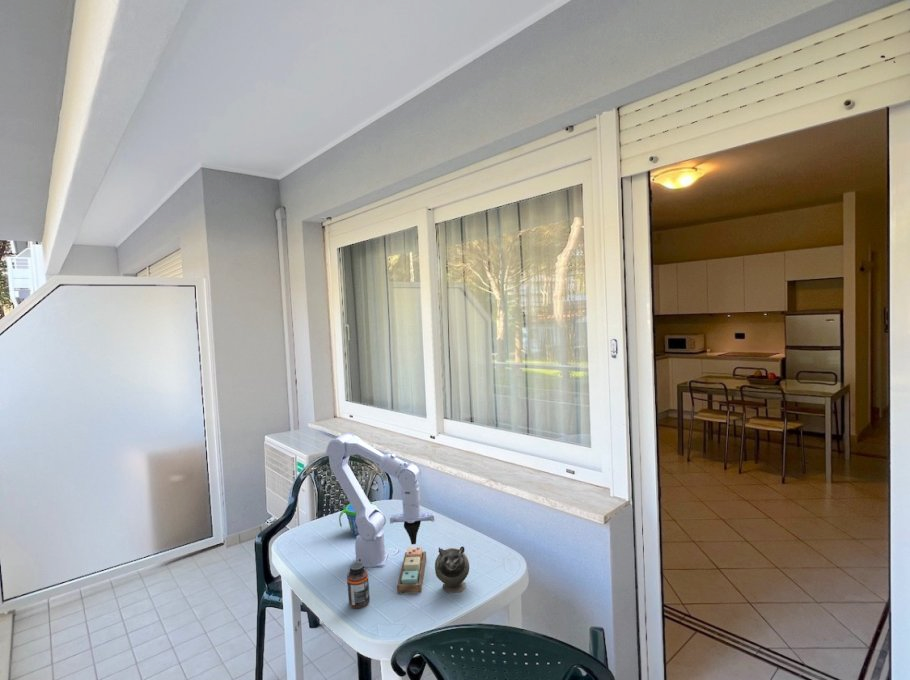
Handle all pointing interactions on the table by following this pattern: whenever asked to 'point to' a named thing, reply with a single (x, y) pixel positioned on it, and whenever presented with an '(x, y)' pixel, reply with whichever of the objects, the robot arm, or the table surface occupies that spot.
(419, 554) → the tile three
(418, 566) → the tile one
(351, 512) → the snack cup
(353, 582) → the supplement bottle
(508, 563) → the table surface
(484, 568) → the table surface
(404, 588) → the tile tray
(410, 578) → the tile two
